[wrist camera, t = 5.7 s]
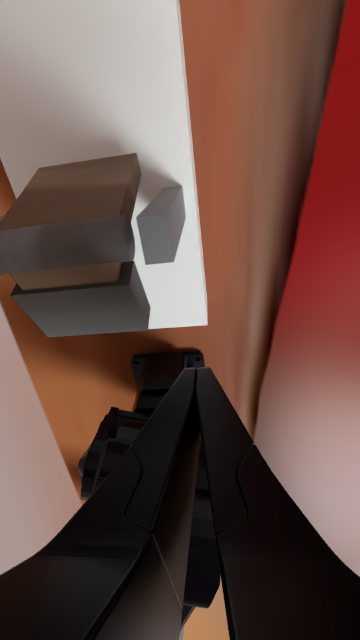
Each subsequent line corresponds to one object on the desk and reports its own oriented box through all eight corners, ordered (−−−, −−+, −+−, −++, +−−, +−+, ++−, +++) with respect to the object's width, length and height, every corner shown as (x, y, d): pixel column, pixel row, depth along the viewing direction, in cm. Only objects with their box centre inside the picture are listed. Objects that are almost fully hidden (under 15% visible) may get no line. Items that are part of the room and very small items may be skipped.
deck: (207, 301, 23) (208, 407, 13) (87, 310, 24) (13, 413, 15) (178, -10, 14) (125, -304, 5) (-8, 33, 15) (-328, -135, 6)
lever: (163, 239, 17) (154, 329, 13) (76, 249, 18) (42, 337, 14) (141, 144, 13) (117, 232, 9) (30, 162, 14) (-39, 251, 10)
